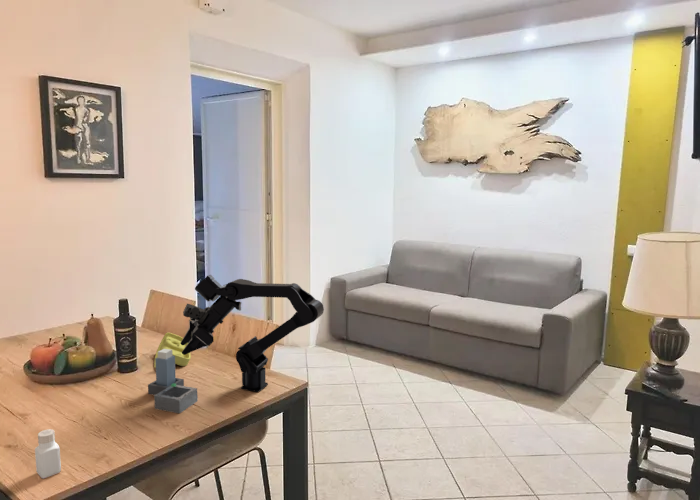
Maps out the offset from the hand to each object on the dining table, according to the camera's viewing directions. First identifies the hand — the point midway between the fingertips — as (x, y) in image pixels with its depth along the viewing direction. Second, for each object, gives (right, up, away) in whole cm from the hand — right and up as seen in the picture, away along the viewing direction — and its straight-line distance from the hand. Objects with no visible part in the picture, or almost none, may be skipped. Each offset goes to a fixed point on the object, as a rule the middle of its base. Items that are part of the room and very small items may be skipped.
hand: (182, 349), depth 155 cm
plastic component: (-12, -10, +28) cm, 32 cm away
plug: (-5, -13, 0) cm, 14 cm away
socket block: (+2, -14, -9) cm, 17 cm away
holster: (-5, -13, 0) cm, 14 cm away
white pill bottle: (-15, -19, -44) cm, 50 cm away
